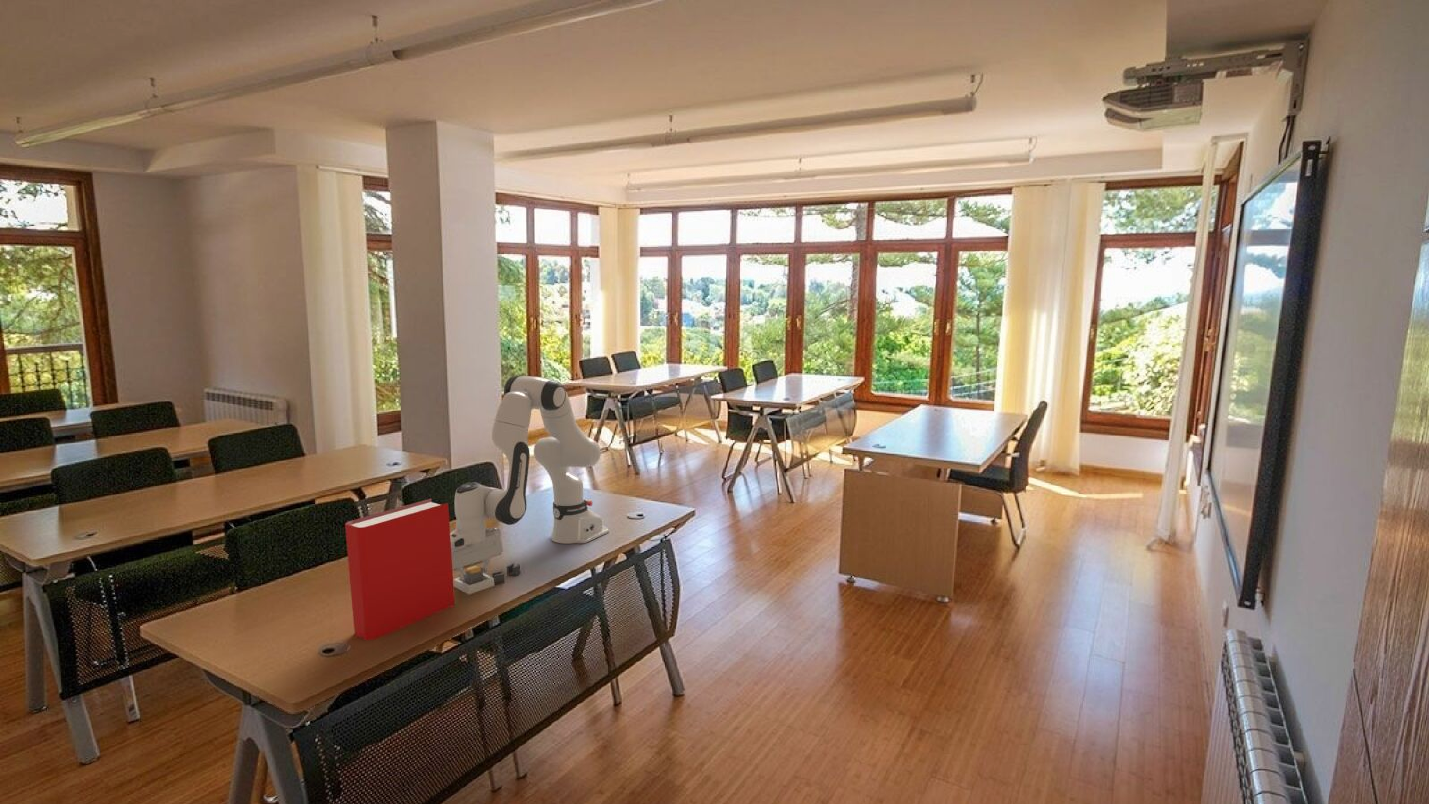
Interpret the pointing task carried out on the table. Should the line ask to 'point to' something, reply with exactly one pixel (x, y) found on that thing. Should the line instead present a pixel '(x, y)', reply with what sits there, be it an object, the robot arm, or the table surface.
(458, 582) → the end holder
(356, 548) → the book
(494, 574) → the clip
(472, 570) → the plug
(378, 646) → the table surface
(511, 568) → the clip
